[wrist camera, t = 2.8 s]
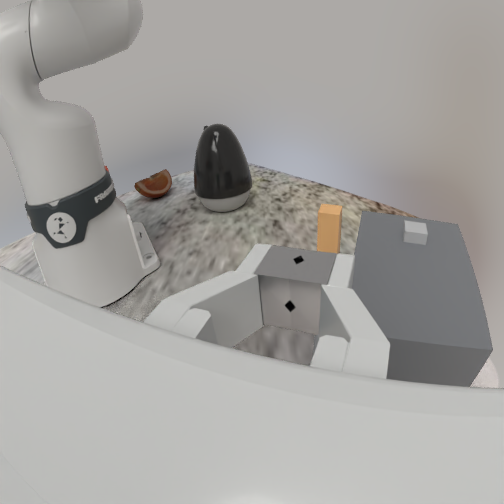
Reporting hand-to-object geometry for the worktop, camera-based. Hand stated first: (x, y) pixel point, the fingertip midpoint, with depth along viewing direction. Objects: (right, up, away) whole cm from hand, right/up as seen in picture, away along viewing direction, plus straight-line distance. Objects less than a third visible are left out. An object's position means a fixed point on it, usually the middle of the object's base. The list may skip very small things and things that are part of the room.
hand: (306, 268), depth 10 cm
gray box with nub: (+12, -8, +18) cm, 23 cm away
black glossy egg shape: (-6, +9, +48) cm, 49 cm away
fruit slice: (-22, +12, +57) cm, 62 cm away
